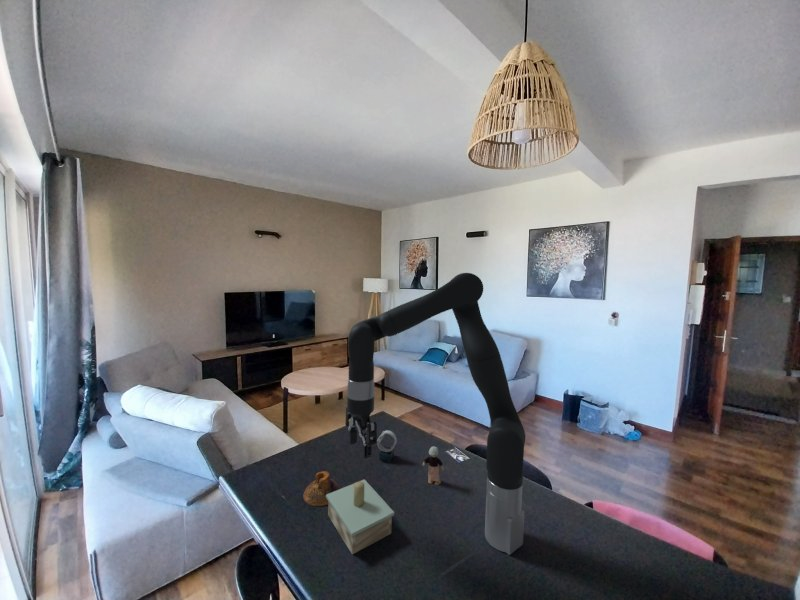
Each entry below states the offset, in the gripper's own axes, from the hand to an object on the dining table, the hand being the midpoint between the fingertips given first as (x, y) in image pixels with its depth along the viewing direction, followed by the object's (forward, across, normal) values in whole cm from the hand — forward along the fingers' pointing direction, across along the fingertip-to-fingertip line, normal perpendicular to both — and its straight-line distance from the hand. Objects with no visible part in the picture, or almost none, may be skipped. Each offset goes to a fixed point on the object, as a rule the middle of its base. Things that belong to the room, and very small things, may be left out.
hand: (359, 449), depth 88 cm
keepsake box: (+23, 0, 0) cm, 23 cm away
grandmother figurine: (+23, +3, -31) cm, 39 cm away
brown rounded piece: (+23, +18, +4) cm, 30 cm away
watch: (+23, +24, -25) cm, 41 cm away
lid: (+17, 0, 0) cm, 17 cm away
